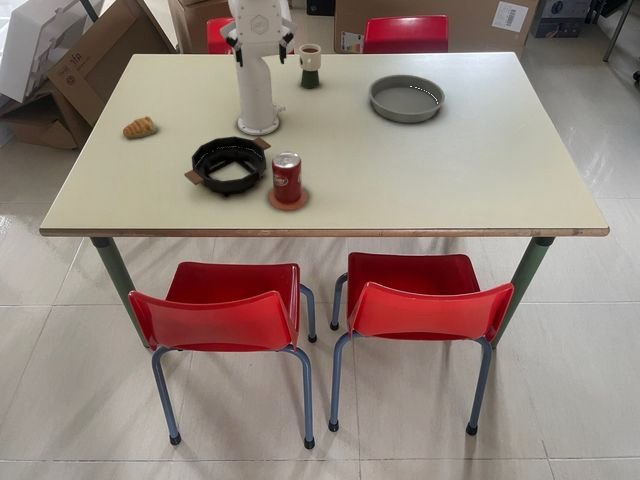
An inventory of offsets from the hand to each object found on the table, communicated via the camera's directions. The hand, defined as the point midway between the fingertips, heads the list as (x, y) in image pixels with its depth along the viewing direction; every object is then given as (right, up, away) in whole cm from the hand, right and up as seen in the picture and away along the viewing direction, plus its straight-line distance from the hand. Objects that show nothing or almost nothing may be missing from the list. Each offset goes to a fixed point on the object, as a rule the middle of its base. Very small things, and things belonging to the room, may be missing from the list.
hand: (261, 63), depth 112 cm
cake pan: (+42, +3, +45) cm, 61 cm away
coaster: (+5, -31, +13) cm, 34 cm away
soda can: (+5, -30, +13) cm, 33 cm away
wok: (-11, -24, +19) cm, 32 cm away
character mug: (+10, +12, +52) cm, 55 cm away
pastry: (-40, -9, +32) cm, 52 cm away
